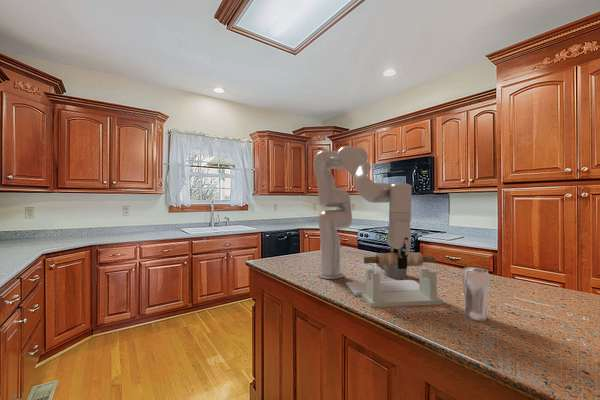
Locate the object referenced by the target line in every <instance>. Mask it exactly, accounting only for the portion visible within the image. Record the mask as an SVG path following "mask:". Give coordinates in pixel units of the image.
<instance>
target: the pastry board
mask: <svg viewBox="0 0 600 400" xmlns="http://www.w3.org/2000/svg"><path fill="white" fill-rule="evenodd" d="M345 285H346V286H347V287H348V289H349V290H350V291H351V292H352V294H353V295H354V296H355V297H359V296H360V297H362V293H366V281H346V284H345ZM400 291H419V282H418V281H415V280H414V279H402V280H401V279H397V280H380V292H400Z"/></svg>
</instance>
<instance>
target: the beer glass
mask: <svg viewBox="0 0 600 400" xmlns="http://www.w3.org/2000/svg"><path fill="white" fill-rule="evenodd" d="M462 289H463V294H464V299H465V310H464V317H465V318H466V319H468V320H471V321H475V322H486V321H488V315H487V309H486V308H487V301H488V296H489V291H490V277H489V270H487V269H485V268H481V267H475V266H472V267H471V266H469V267H467V266H466V267H463V273H462Z"/></svg>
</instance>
